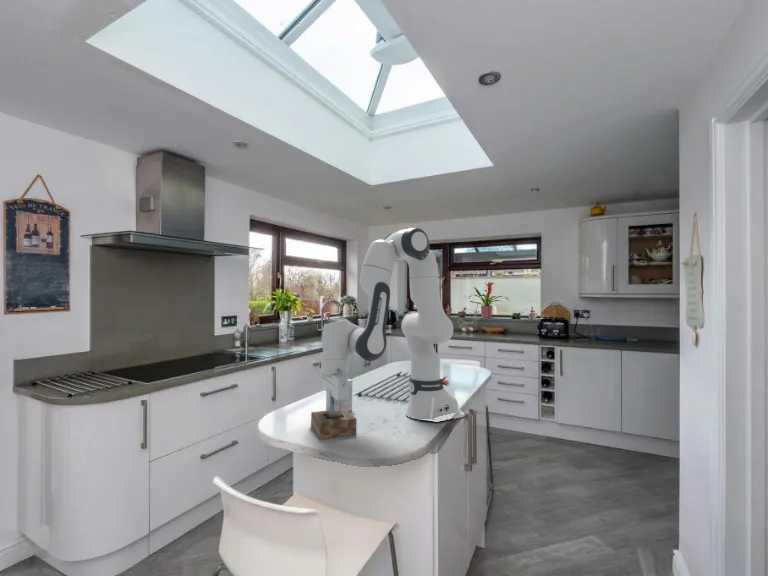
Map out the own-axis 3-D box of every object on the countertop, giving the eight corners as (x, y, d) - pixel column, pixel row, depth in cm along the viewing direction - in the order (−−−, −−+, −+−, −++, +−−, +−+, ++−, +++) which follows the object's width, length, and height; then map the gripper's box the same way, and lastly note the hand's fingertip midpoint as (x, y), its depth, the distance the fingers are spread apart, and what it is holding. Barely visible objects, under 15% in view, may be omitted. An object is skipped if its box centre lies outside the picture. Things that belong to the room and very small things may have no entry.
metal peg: (337, 422, 127) (338, 387, 128) (340, 426, 124) (341, 389, 124) (325, 424, 126) (326, 388, 126) (329, 427, 122) (329, 390, 122)
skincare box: (345, 408, 150) (346, 378, 151) (352, 410, 147) (353, 379, 148) (333, 411, 146) (334, 380, 147) (340, 413, 143) (340, 382, 144)
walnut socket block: (344, 422, 132) (344, 408, 133) (356, 434, 122) (356, 418, 122) (311, 427, 127) (311, 412, 128) (320, 439, 117) (320, 423, 117)
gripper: (354, 371, 117) (353, 416, 117) (334, 361, 136) (334, 399, 135) (334, 372, 114) (333, 418, 114) (317, 362, 133) (316, 401, 133)
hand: (333, 408), depth 125 cm, fingers closed on metal peg, 4 cm apart
